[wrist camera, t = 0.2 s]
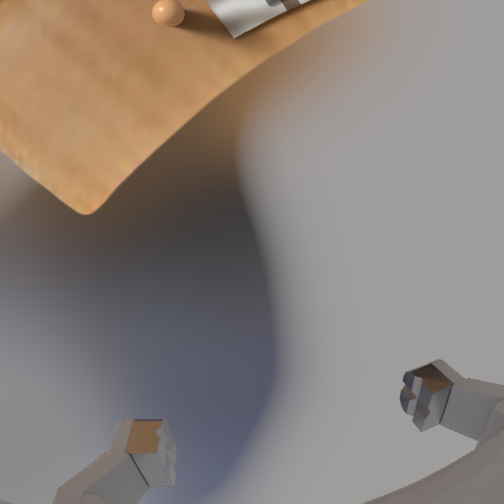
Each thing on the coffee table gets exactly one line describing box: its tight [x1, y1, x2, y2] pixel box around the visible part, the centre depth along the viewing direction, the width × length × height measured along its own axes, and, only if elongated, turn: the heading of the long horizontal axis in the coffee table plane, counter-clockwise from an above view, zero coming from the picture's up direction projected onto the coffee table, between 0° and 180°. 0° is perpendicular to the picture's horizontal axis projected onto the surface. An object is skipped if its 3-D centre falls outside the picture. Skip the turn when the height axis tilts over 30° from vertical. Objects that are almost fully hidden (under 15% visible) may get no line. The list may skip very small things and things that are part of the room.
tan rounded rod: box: [152, 0, 185, 27], centre depth 34 cm, size 4×4×15 cm
